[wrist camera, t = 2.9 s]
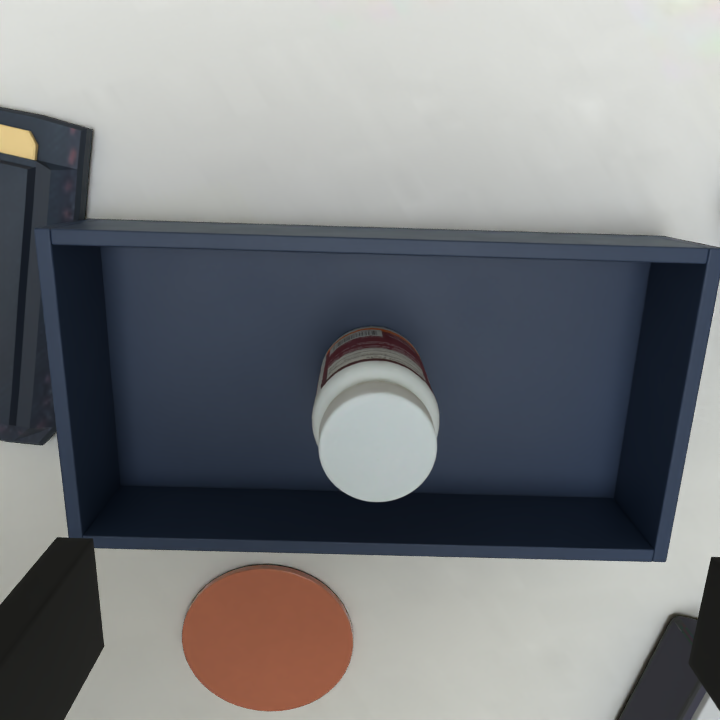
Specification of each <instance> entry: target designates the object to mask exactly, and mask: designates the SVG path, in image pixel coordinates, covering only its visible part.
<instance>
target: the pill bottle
mask: <svg viewBox="0 0 720 720" xmlns="http://www.w3.org/2000/svg"><path fill="white" fill-rule="evenodd" d="M439 424H440V420H439V409H438V404H437V401H436V398H435V396H434V393H433V391H432V388H431V386H430V383H429V380H428V377H427V374H426V372H425V369H424V367H423V364H422V361H421V359H420V356H419V354H418V352H417V351H416V349H415V348H414V346H413V345H412V344H411V343H410V342H409V341H408V340H407V339H406V338H405V337H403V336H402V335H400V334H399V333H397V332H395V331H393V330H390V329H387V328H384V327H376V326H370V327H361V328H357V329H354V330H352V331H349V332H347V333H345V334H344V335H342V336H341V337H340V338H338V339H337V340H336V341H335V342H334V343H333V344H332V346H331V347H330V348H329V350H328V351H327V353H326V355H325V357H324V359H323V362H322V366H321V371H320V375H319V381H318V385H317V391H316V397H315V401H314V406H313V411H312V428H313V434H314V438H315V440H316V443H317V445H318V449H319V458H320V461H321V465H322V467H323V470H324V471H325V473H326V475H327V477H328V478H329V479H330V481H331V482H332V483H333V484H334V485H335V486H336V487H337V488H339V489H340V490H341V491H343V492H344V493H346V494H347V495H349V496H352V497H354V498H356V499H360V500H363V501H369V502H385V501H391V500H395V499H398V498H401V497H403V496H405V495H407V494H409V493H411V492H412V491H414V490H415V489H416V488H418V487H419V486H420V485H421V484H422V483H423V482H424V480H425V479H426V478H427V476H428V475H429V473H430V471H431V470H432V468H433V465H434V462H435V459H436V454H437V436H438V431H439Z"/></svg>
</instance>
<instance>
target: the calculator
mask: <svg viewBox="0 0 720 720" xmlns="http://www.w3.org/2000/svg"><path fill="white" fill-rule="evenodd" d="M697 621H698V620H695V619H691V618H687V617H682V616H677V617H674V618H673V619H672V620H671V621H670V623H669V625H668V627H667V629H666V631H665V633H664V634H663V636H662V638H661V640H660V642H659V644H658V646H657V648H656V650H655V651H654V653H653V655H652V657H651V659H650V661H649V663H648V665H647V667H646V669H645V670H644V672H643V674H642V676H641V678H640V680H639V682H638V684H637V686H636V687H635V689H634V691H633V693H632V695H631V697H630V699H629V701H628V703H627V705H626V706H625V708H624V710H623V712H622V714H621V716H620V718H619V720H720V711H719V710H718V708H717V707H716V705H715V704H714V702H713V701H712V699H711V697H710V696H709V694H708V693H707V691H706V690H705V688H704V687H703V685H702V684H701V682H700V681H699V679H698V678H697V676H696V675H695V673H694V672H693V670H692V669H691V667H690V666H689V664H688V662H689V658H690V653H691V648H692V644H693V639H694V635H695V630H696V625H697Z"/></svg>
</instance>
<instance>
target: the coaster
mask: <svg viewBox="0 0 720 720" xmlns="http://www.w3.org/2000/svg"><path fill="white" fill-rule="evenodd" d="M182 644H183V650H184V654H185V657H186V660H187V662H188V664H189V666H190V668H191V670H192V671H193V673H194V675H195V676H196V677H197V678H198V680H199V681H200V682H201V683H202V684H203V685H204V686H205V687H206V688H207V689H208V690H209V691H211V692H212V693H214V694H215V695H217V696H218V697H220V698H222V699H223V700H225V701H227V702H229V703H232V704H234V705H237V706H240V707H243V708H247V709H252V710H258V711H283V710H290V709H294V708H298V707H301V706H304V705H307V704H309V703H311V702H313V701H315V700H317V699H319V698H320V697H322V696H323V695H325V694H326V693H328V692H329V691H330V690H331V689H332V688H333V687H334V686H335V685H336V684H337V683H338V682H339V681H340V679H341V678H342V676H343V675H344V673H345V672H346V669H347V667H348V665H349V663H350V659H351V656H352V650H353V630H352V625H351V621H350V618H349V616H348V613H347V611H346V609H345V607H344V606H343V604H342V602H341V601H340V600H339V598H338V597H337V596H336V595H335V594H334V593H333V592H332V591H331V590H330V589H329V588H328V587H327V586H326V585H324V584H323V583H322V582H321V581H319V580H317V579H316V578H314V577H312V576H310V575H308V574H306V573H304V572H302V571H299V570H295V569H292V568H289V567H283V566H277V565H253V566H247V567H242V568H238V569H235V570H232V571H230V572H227V573H225V574H223V575H221V576H219V577H217V578H216V579H214V580H213V581H211V582H210V583H209V584H207V585H206V586H205V587H204V588H203V589H202V590H201V591H200V592H199V593H198V595H197V596H196V597H195V599H194V600H193V602H192V604H191V605H190V607H189V609H188V612H187V614H186V617H185V620H184V624H183V630H182Z"/></svg>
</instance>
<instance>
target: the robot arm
mask: <svg viewBox="0 0 720 720" xmlns="http://www.w3.org/2000/svg"><path fill="white" fill-rule="evenodd" d="M103 648H104V641H103V631H102V621H101V611H100V601H99V591H98V582H97V572H96V562H95V552H94V542H93V538H61V537H57V538H56V539H55V540H54V541H53V543H52V544H51V545H50V546H49V547H48V549H47V550H46V551H45V552H44V553H43V555H42V556H41V557H40V558H39V559H38V561H37V562H36V563H35V564H34V565H33V567H32V568H31V569H30V570H29V571H28V572H27V574H26V575H25V576H24V577H23V578H22V580H21V581H20V582H19V583H18V584H17V586H16V587H15V588H14V589H13V590H12V592H11V593H10V594H9V595H8V596H7V597H6V599H5V600H4V601H3V602H2V603H1V605H0V720H64V719H65V717H66V715H67V713H68V711H69V710H70V708H71V706H72V704H73V702H74V701H75V699H76V697H77V695H78V693H79V691H80V690H81V688H82V686H83V684H84V682H85V680H86V679H87V677H88V675H89V673H90V671H91V669H92V668H93V666H94V664H95V662H96V660H97V658H98V657H99V655H100V653H101V651H102V649H103ZM688 664H689V666H690V667H691V669H692V670H693V672H694V673H695V675H696V676H697V678H698V679H699V681H700V682H701V684H702V685H703V687H704V688H705V690H706V691H707V693H708V694H709V696H710V697H711V699H712V701H713V702H714V704H715V705H716V707H717V708H718V710H719V711H720V557H711V561H710V565H709V570H708V574H707V579H706V584H705V588H704V593H703V598H702V602H701V607H700V611H699V616H698V621H697V625H696V630H695V635H694V639H693V644H692V648H691V653H690V658H689V662H688Z"/></svg>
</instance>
